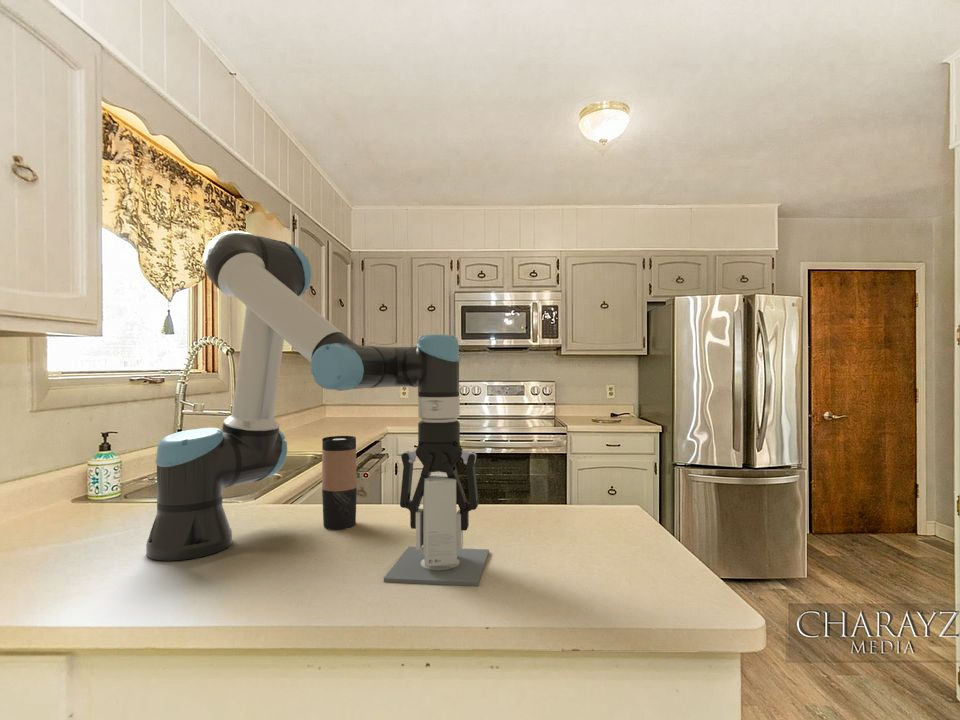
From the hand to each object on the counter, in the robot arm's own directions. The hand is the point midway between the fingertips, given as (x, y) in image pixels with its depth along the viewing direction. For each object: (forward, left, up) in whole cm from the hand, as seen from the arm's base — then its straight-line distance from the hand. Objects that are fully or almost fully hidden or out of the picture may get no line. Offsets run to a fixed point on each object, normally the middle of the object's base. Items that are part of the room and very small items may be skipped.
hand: (439, 546), depth 97 cm
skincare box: (0, 0, -2) cm, 2 cm away
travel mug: (-28, +22, -4) cm, 36 cm away
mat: (0, 0, -3) cm, 3 cm away
